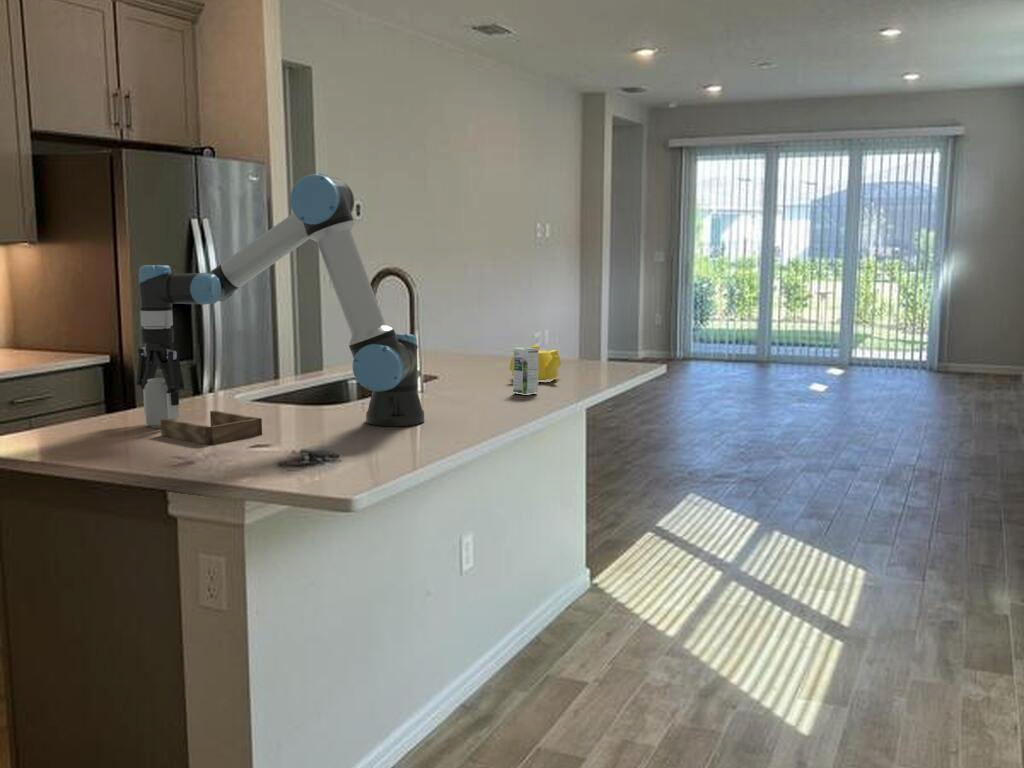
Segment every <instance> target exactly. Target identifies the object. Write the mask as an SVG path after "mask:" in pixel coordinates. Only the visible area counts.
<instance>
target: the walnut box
mask: <svg viewBox="0 0 1024 768" xmlns="http://www.w3.org/2000/svg"><path fill="white" fill-rule="evenodd" d="M209 416H210V417H209V418H210V419H209V420H210V426H208V425H203V424H197V423H193V422H192V423H191V422H188V421H187V422H185V421H181V420H178V421H176V420H171V419H161V428H160V435H161V436H163V437H167V438H171V439H176V440H181V441H182V440H183V441H187V442H191V443H196V444H201V445H207V446H211V445H217V444H223V443H226V442H231V441H237V440H242V439H247V438H253V437H256V436H262V435H263V425H262V424H263V422H262V420H263V419H262V418H261V417H256V416H255V417H254V416H248V415H243V414H237V413H231V412H225V411H219V410H210V411H209Z"/></svg>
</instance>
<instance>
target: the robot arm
mask: <svg viewBox="0 0 1024 768" xmlns="http://www.w3.org/2000/svg"><path fill="white" fill-rule="evenodd" d="M289 196H290V199H289V200H290V207H291V210H292V213H291V214H290V215H288V216H287V217H285V218H284V219H282V220H281V221H280V222H278V223H277V224H275V225H274V226H273V227H271V228H270V229H269V230H267V231H266V232H264V233H263V234H261V235H260V236H259V237H257V238H256V239H254V240H253V241H252V242H250V243H248V244H247V245H246V246H244V247H243V248H241V249H239V251H237V252H236V253H235V254H233V255H232V256H231V257H229V258H227V259H226V260H225V261H223V262H222V263H221V264H219V265H218V266H216V267H215V268H213V269H212V270H210V271H207V272H197V273H174V272H172V269H171V266H170V265H167V264H165V265H164V264H163V265H161V264H152V265H151V264H149V265H148V264H146V265H142V266H140V268H139V269H138V286H139V301H140V311H139V313H140V326H141V327H143V328H142V329H141V342H142V344H145V347H138V348H137V349H138V350H137V352H138V364H137V372H136V373H137V375H136V385H137V386H140V388H141V390H142V399H143V411H144V412H143V413H144V415H145V416H146V406H145V385H146V384H147V383H148V382H147V380H148V379H154V378H155V376H156V373H157V369H158V368H159V369H160V370H161V373H162V375H163V378H164V379H165V382H166V384H167V387H168V390H169V391H167V412H168V419H173V418H179V417H180V414H179V413H180V412H179V411H180V410H179V405H180V400H179V399H180V398H179V396H180V395H179V393H180V391H184V390H185V383H184V379H183V373H182V368H181V363H180V351H179V350H172V348H171V343H174V341H175V339H174V338H175V337H174V336H175V333H174V329H173V327H172V326H173V325H174V321H173V317H174V316H173V304H174V305H178V304H180V305H181V304H184V305H201V306H205V305H213V304H216V303H218V302H223V301H225V300H228V299H230V298H231V297H232V296H234V294H235V293H236V291H237V290H238V289H240V288H241V287H242V286H244V285H245V284H246V283H248V282H249V281H251V280H252V279H253V278H255V277H256V276H257V275H259V274H261V273H263V271H265V270H267V269H268V268H270V267H271V266H273V265H274V264H275V263H277V262H278V261H280V260H281V259H283V258H284V257H285V256H287V255H288V254H290V253H291V252H293V251H294V250H296V249H297V248H298V247H300V246H301V245H303V244H304V243H306V242H307V241H308V240H312V241H314V242H316V244H317V246H318V249H319V251H320V255H321V257H322V260H323V262H324V265H325V267H326V270H327V273H328V276H329V277H330V281H331V283H332V286H333V288H334V292H335V294H336V297H337V300H338V302H339V305H340V308H341V311H342V312H343V313H342V314H343V316H344V318H345V319H344V320H345V321H346V325H347V326H348V327H347V328H349V331H350V334H351V338H350V340H349V343H348V347H349V349H350V352H351V355H352V357H353V358H352V359H353V361H352V373H353V376H354V377H355V379H356V381H357V383H359V385H360V386H362V387H363V388H365V390H369V391H370V392H371V391H372V393H371V396H370V401H369V404H368V409H367V411H366V412H365V421H366V422H367V423H366V424H368V423H369V425H371V424H372V426H376V425H377V427H409V426H408V425H410V426H415V424H416V425H420V424H423V423H424V422H425V412H424V410H423V408H422V404H421V399H420V397H419V392H418V349H419V345H418V339H417V336H415V335H414V334H411V333H396V331H395V329H394V328H393V327H391V326H389V325H387V324H386V321H385V320H384V317H383V314H382V311H381V308H380V306H379V304H378V301H377V298H376V295H375V292H374V290H373V287H372V284H371V282H370V279H369V276H368V274H367V271H366V268H365V265H364V263H363V262H364V261H362V260H363V259H362V258H361V255H360V252H359V248H358V247H357V244H356V241H355V238H354V235H353V233H352V228H353V226H354V224H355V220H354V218H353V217H354V216H353V215H352V213H353V211H354V208H355V197H354V193H353V190H352V189H351V187H350V186H349V185H348V184H347V183H346V182H345V181H344V180H341V179H339V178H337V177H333V176H329V175H326V174H323V173H312V174H309V175H308V174H307V175H305V176H303V177H301V178H300V179H299V180H297V182H296V183H294V186H293V187H292V190H291V192H290V195H289ZM172 386H173V388H172ZM422 422H423V423H422ZM419 423H420V424H419Z"/></svg>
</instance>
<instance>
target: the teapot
mask: <svg viewBox="0 0 1024 768" xmlns="http://www.w3.org/2000/svg"><path fill="white" fill-rule="evenodd" d="M530 348H535V349H538V380H546V379H553V378H556V377H557V378H558V376H559V373H558V369H559V367H560V366H561V364H562V363H561V359H560V357H561V356H560V355H559V352H558V350H557V349H552V350H540V346H539V345H531V346H530ZM513 364H514V350H512V355H511V359H510V363H509V367H508V368H509V370H510V371H511V372H512V373H511V374H512V376H513ZM557 378H556V379H557Z"/></svg>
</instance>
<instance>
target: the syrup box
mask: <svg viewBox="0 0 1024 768" xmlns="http://www.w3.org/2000/svg"><path fill="white" fill-rule="evenodd" d="M513 351H514V364H513V375H512V379H513V380H512V381H513V382H512V393H513V392H518V393H523V394H527V393H534V392H538V390H539V383H538V349H535V348H531V347H527V346H519V347H518V346H517V347H514V348H513ZM538 393H539V392H538Z"/></svg>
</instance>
